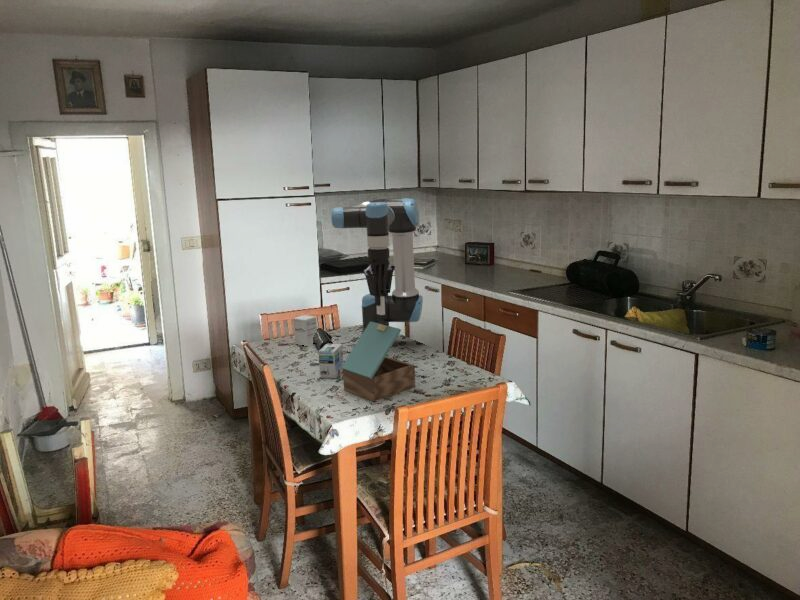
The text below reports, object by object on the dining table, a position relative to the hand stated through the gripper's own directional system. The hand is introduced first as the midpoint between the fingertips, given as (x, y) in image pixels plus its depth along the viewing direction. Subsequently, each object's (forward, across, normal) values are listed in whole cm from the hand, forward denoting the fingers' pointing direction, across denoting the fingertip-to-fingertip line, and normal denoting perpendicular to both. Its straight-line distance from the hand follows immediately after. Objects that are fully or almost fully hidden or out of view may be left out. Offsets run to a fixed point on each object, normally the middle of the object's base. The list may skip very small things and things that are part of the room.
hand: (381, 314), depth 228 cm
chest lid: (+12, +5, 0) cm, 13 cm away
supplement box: (+27, -13, -69) cm, 75 cm away
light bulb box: (+27, +4, -26) cm, 38 cm away
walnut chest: (+27, +2, 0) cm, 27 cm away
